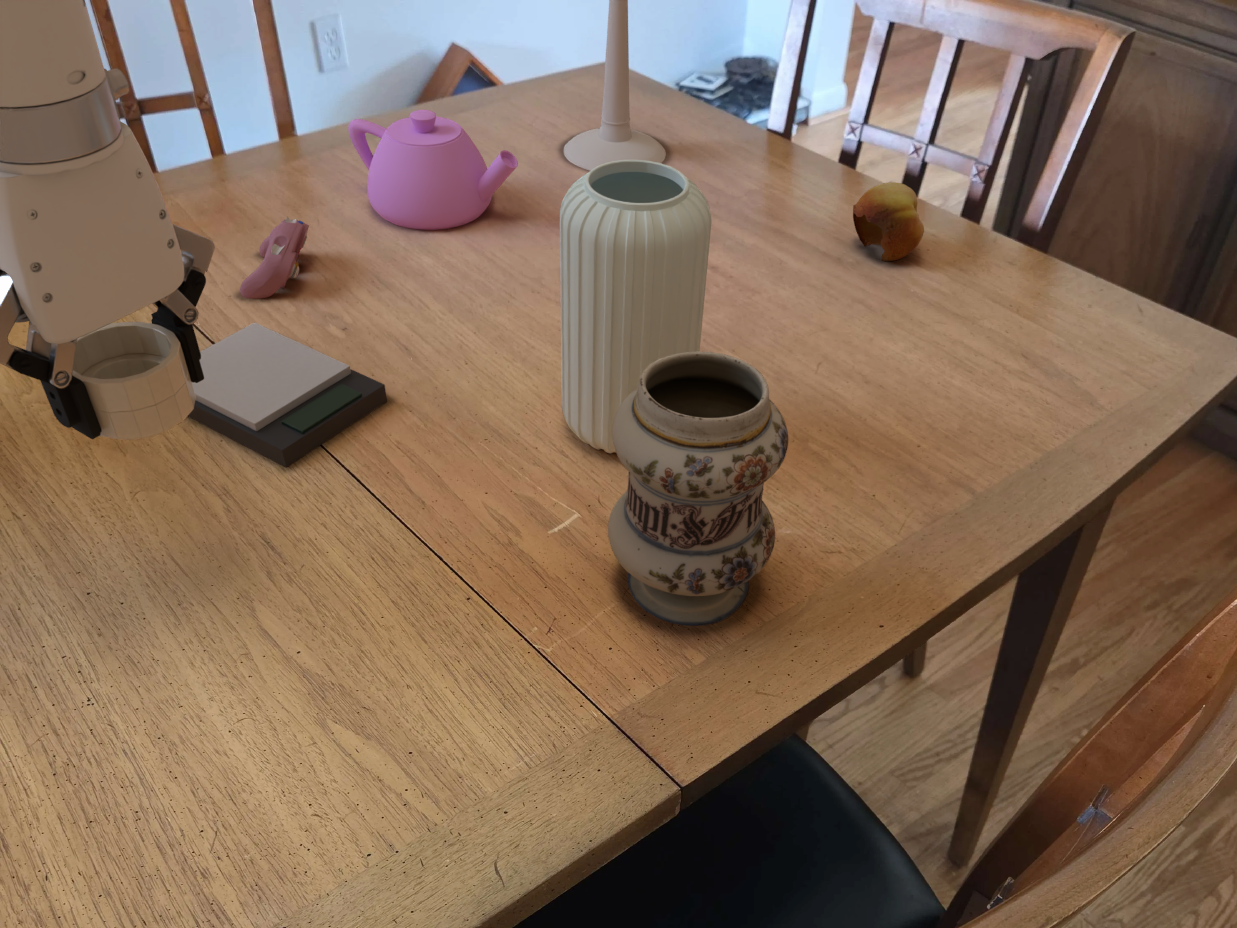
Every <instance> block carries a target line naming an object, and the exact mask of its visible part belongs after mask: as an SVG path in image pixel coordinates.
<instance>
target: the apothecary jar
mask: <svg viewBox="0 0 1237 928" xmlns="http://www.w3.org/2000/svg"><path fill="white" fill-rule="evenodd" d="M788 431H789V430H788V426H787V424H786V421H785V419H784V417H783V414H782V412H781V411H780V410H779V408H778V407H777V406H776V405H775V403H774V402H773V401H772V400H771V399H770V389H769V384H768V381H767V380H766V377H765V376H764V375H763V374H762V373H761V371H760V370H758V368H756V367H755V366H753V365H752V364H750V363H748V362H746V361H745V360H742V359H740V358H737V357H735V356H732V355H729V354H725V353H720V352H713V351H700V352H685V353H679V354H674V355H670V356H666V357H664V358H661V359H658V360H657V361H655V362H653V363H652V364H650V365H649V366H648V367H647V368H646V369H645V370H644V371H643V373H642V375H641V377H640V380H639V384H638V389H636V390H635V391H634V392H632V393H631V394H630V395H629V396H628V397H627V398H626V399H625V400H624V401H623V403H622V404H621V405H620V407H619V409H618V410H617V412H616V414H615V417H614V420H613V425H612V439H613V444H614V448H615V451H616V456H617V458H618V460H619V462H620V463H621V464H622V466H623V467H624V468H625V470H627V471H628V475H627V490H626V491H624V492H623V493H622V495H620V497H619V498H618V499H617V500H616V502H615V504H614V506H613V508H612V509H611V512H610V514H609V517H608V521H607V522H608V524H607V538H608V542H609V545H610V549H611V551H612V553H613V555H614V557H615V560H617V562H618V563H619V564H620V566H621V567H622V568H623V569H624V570H625V571H626V572H627V586H628V589H629V593H630V594H631V596H632V598H633V600H634V601H635V602H636V604H638V605H639V607H640V608H642V609H643V610H644V611H645V612H646V613H648V614H649V615H651V616H653V617H655V618H656V619H658V620H661V621H664V622H667V623H670V624H674V625H680V626H685V627H686V626H687V627H701V626H708V625H713V624H716V623H719V622H722V621H724V620H726V619H728V618H729V617H731V616H732V615H734V614H735V613H736V612H737V611H739V609H741V607H742V606H744V603H745V602H746V601H747V599H748V597H749V594H750V590H751V582H750V581H751V580H752V579H753V578H754V577H756V576H757V575H758V574H759V573H760V572H761V571H762V570H763V569H764V567H765V566H766V565H767V564H768V562H769V560H770V558H771V556H772V554H773V550H774V547H775V543H776V528H775V523H774V519H773V517H772V514H771V512H770V509H769V508H768V506H767V505H766V503H765V502H764V500H763V495H764V494H763V493H764V483H766V482H767V481H768V480H770V478H772V476H774V475H775V474H776V473H777V471H778V470H779V469H780V467H781V466H782V464H783V462H784V460H785V458H786V456H787V453H788V448H789V432H788Z"/></svg>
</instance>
